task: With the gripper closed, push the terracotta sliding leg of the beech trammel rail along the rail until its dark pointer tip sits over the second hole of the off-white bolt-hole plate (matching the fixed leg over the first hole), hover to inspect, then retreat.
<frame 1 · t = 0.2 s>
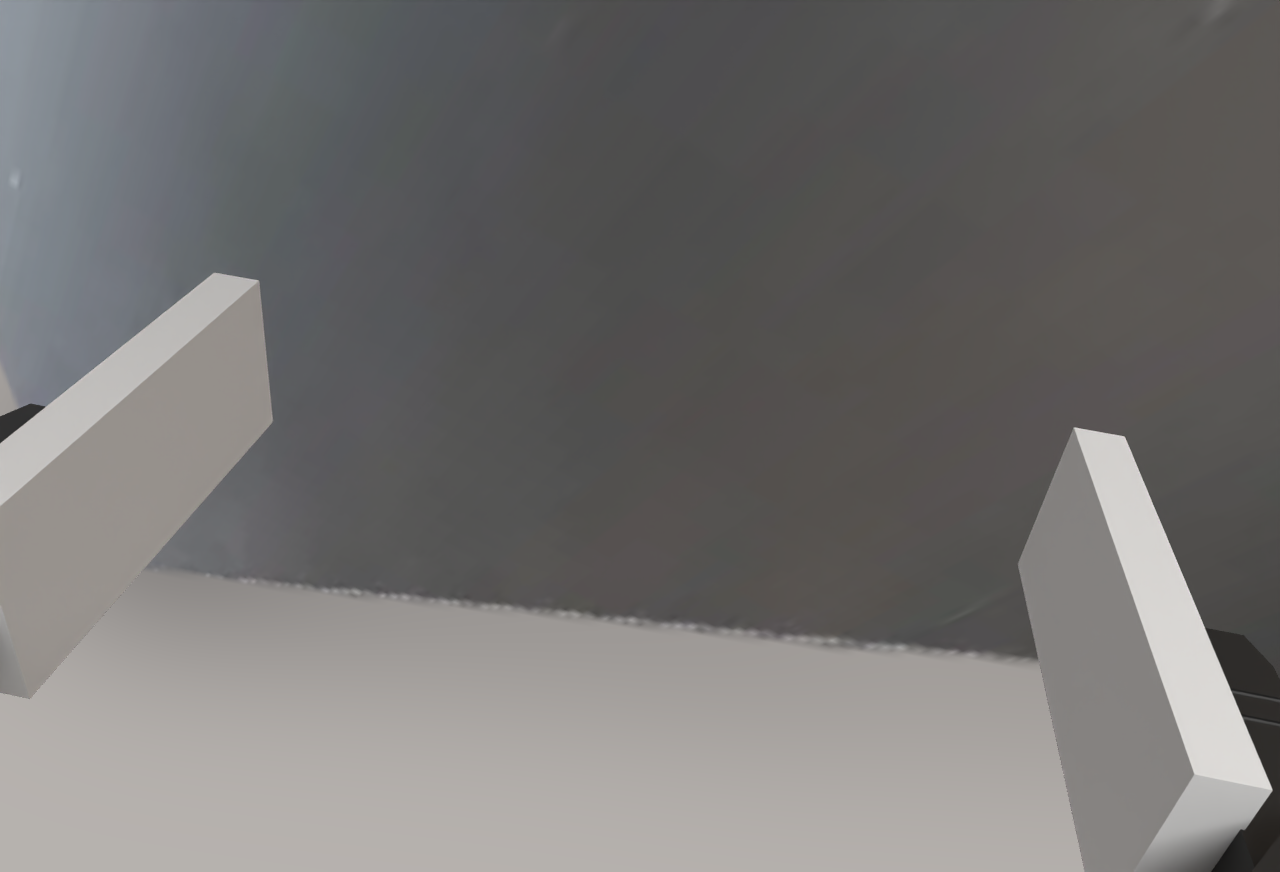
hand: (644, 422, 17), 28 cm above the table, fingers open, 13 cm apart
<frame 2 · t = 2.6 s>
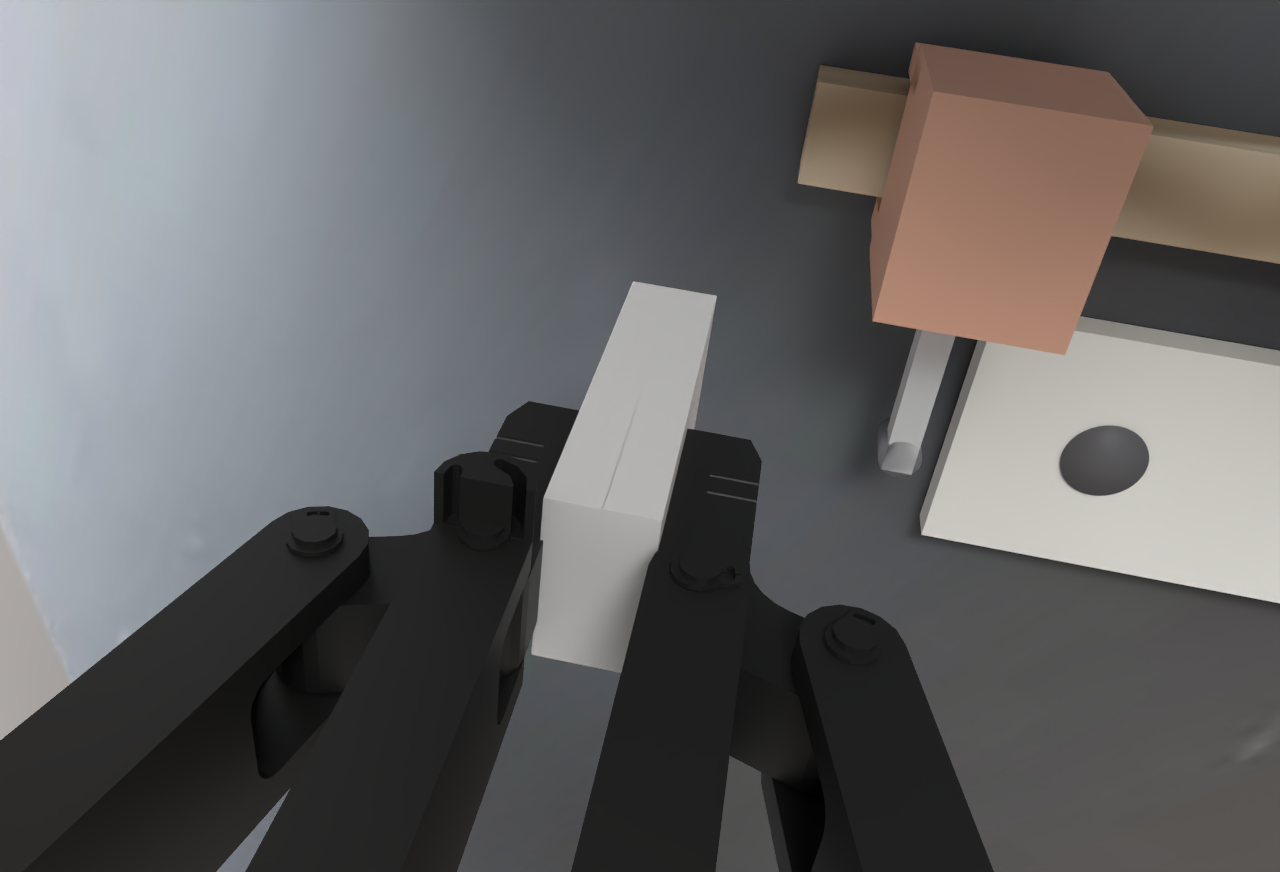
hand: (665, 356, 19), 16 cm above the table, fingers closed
hole plate: (1273, 473, 36), on the table
sliding leg: (951, 305, 30), point 4 cm above the table, slide at 0.0 cm
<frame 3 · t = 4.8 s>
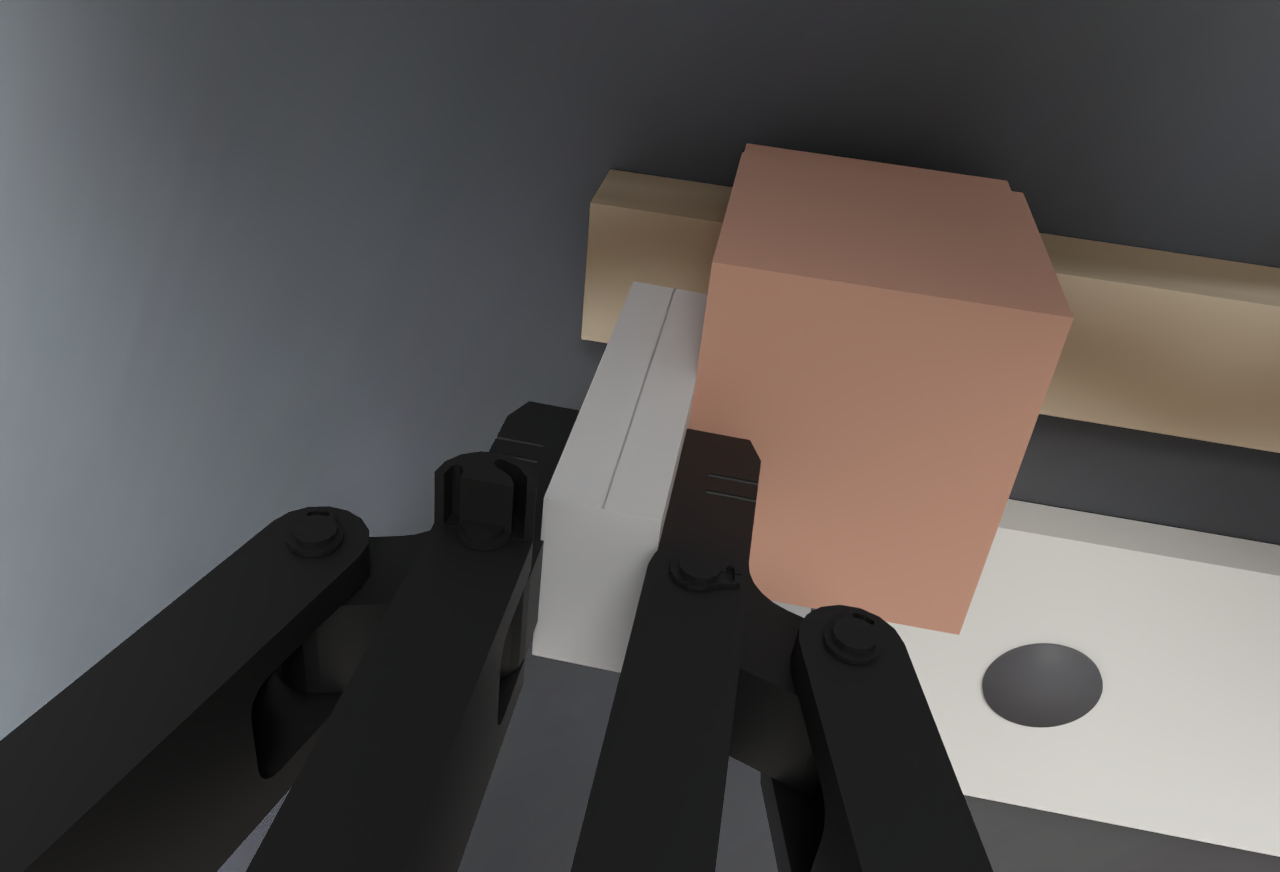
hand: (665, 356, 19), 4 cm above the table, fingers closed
hole plate: (1275, 694, 26), on the table
sliding leg: (810, 520, 21), point 4 cm above the table, slide at 0.3 cm, touching gripper
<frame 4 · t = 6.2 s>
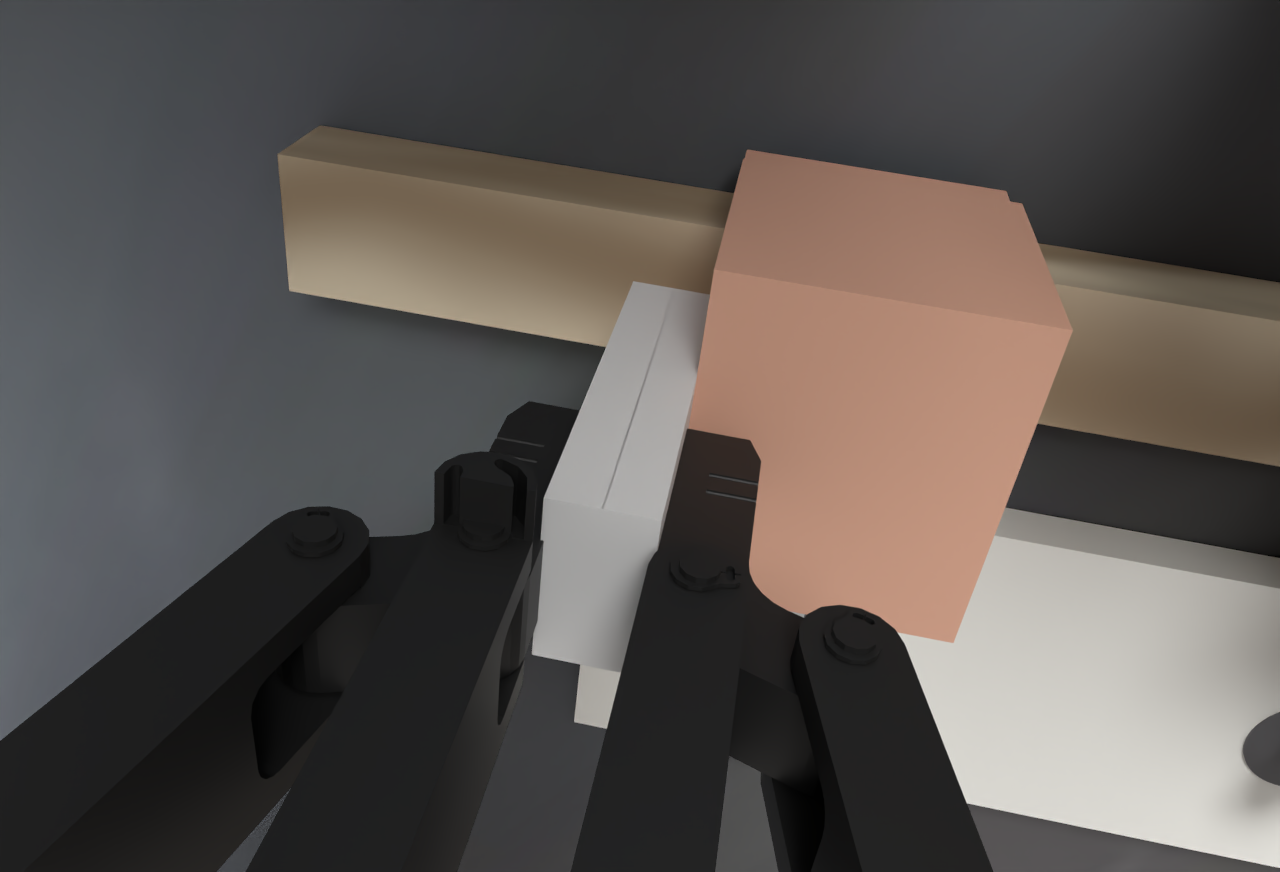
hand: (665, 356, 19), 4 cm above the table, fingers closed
hole plate: (1011, 655, 27), on the table
sliding leg: (805, 526, 21), point 4 cm above the table, slide at 6.6 cm, touching gripper
rail: (980, 303, 22), on the table
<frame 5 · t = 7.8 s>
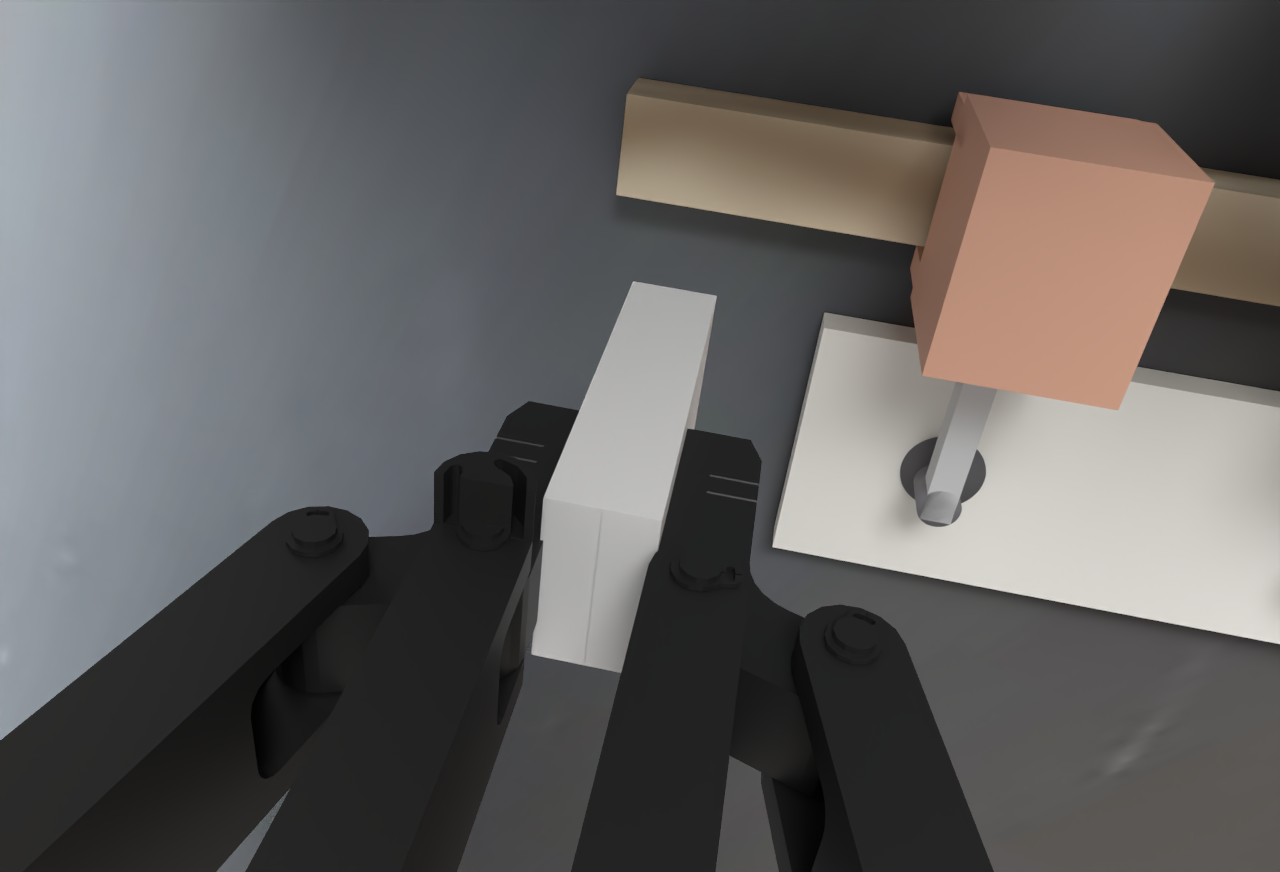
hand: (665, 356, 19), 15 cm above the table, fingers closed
hole plate: (1113, 484, 36), on the table
sliding leg: (996, 355, 30), point 4 cm above the table, slide at 6.7 cm
rail: (1109, 204, 31), on the table
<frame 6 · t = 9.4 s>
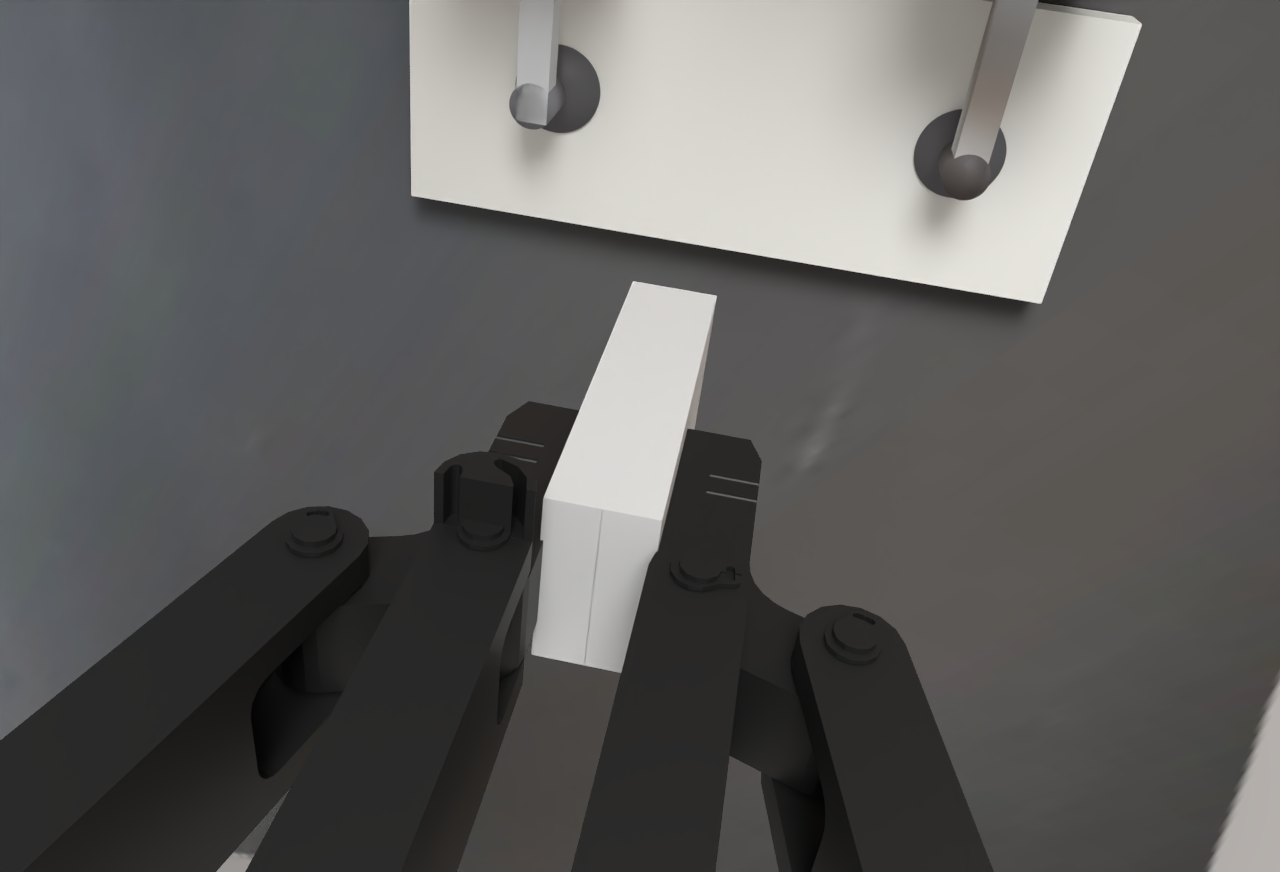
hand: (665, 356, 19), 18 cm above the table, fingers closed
hole plate: (743, 108, 34), on the table
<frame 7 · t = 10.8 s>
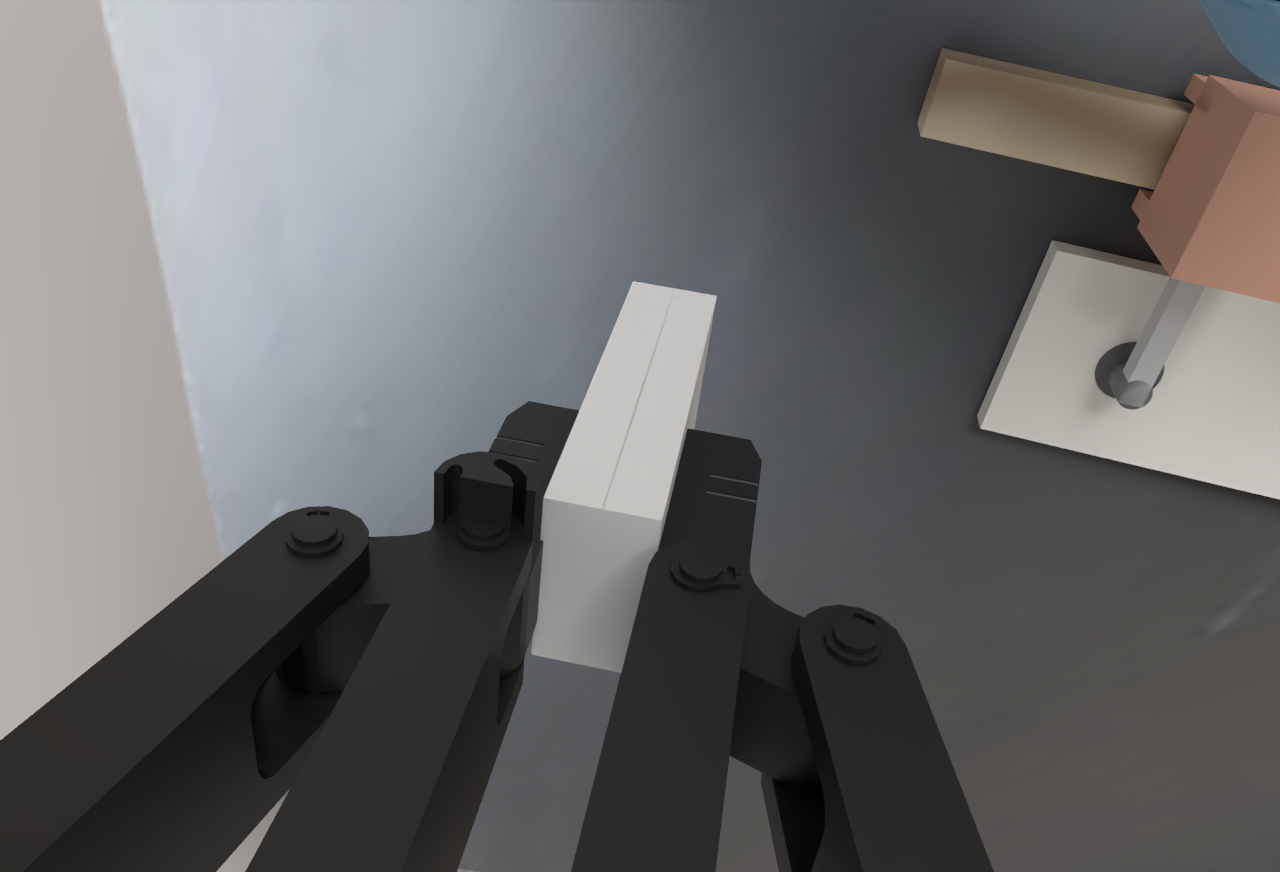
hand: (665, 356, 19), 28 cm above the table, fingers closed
hole plate: (1255, 389, 46), on the table
sliding leg: (1205, 273, 40), point 4 cm above the table, slide at 6.7 cm
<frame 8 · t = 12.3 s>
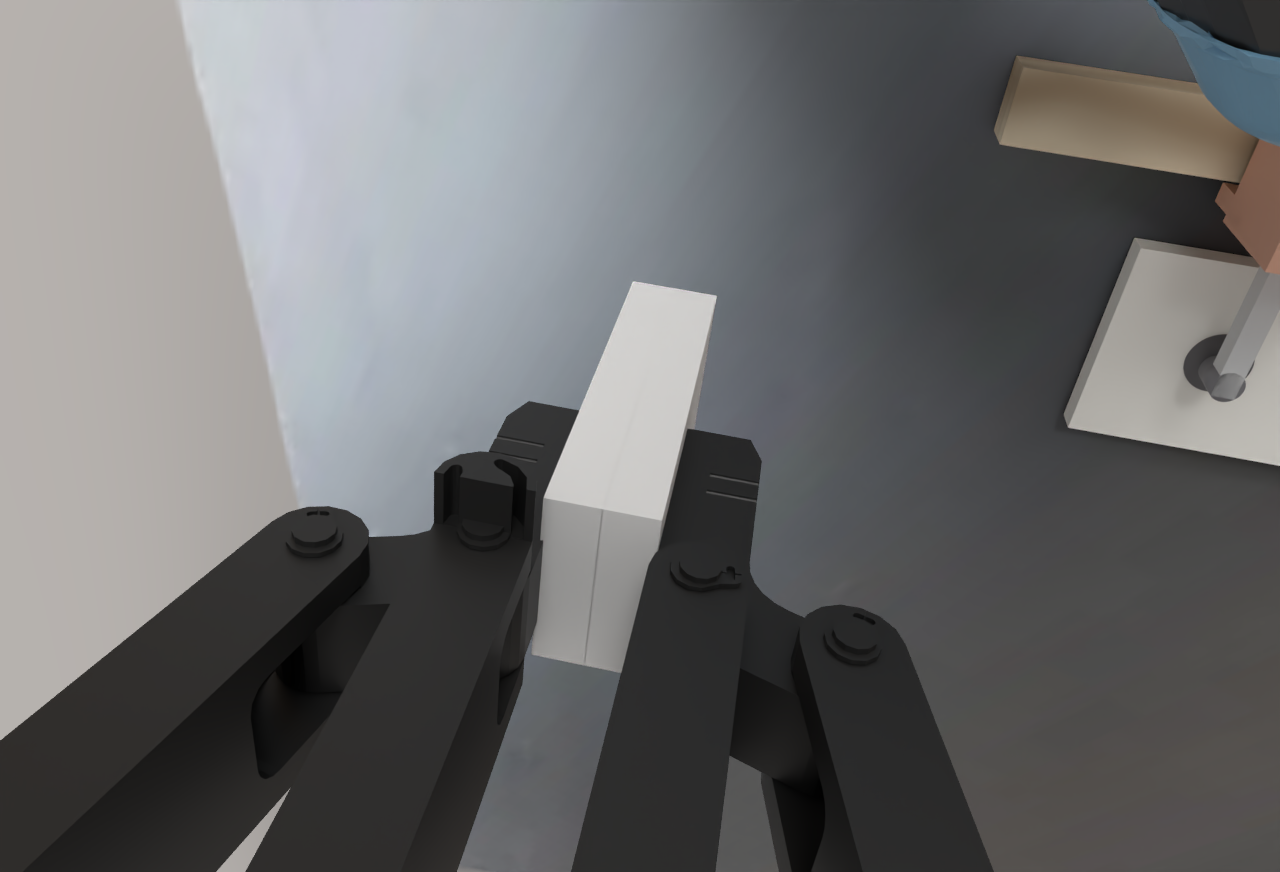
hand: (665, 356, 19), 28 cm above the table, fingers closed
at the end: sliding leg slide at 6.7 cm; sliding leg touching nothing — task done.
